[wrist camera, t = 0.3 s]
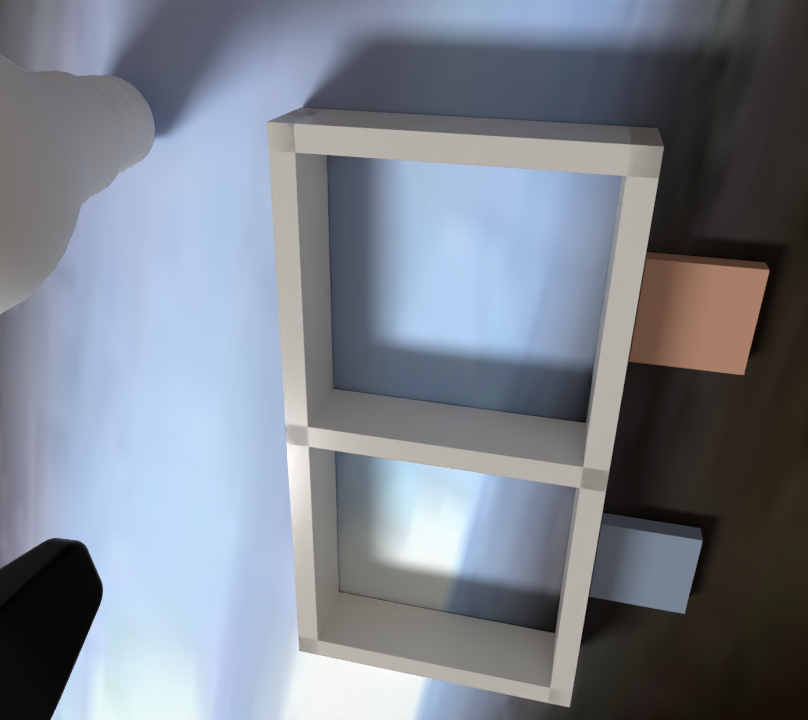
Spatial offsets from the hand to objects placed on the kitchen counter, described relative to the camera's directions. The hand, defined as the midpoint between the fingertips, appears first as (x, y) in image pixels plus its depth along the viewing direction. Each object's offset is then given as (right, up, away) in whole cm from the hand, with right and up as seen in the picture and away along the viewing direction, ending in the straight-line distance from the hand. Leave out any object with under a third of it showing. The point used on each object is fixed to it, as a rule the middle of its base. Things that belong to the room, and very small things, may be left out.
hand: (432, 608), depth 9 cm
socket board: (+3, +1, +15) cm, 15 cm away
